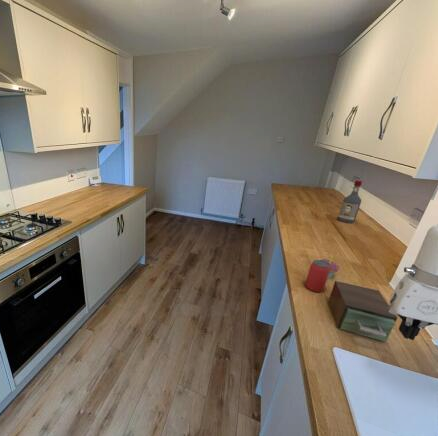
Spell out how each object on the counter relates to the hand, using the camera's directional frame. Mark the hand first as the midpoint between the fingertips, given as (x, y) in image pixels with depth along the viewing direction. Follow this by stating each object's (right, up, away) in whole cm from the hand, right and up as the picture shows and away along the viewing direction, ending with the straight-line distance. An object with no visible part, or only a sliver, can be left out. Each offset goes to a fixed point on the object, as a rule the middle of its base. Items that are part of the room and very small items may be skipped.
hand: (406, 335), depth 63 cm
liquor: (+79, +29, +114) cm, 142 cm away
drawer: (+2, -5, +17) cm, 18 cm away
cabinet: (+4, -5, +21) cm, 22 cm away
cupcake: (+13, +5, +47) cm, 49 cm away
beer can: (+2, +1, +37) cm, 37 cm away
